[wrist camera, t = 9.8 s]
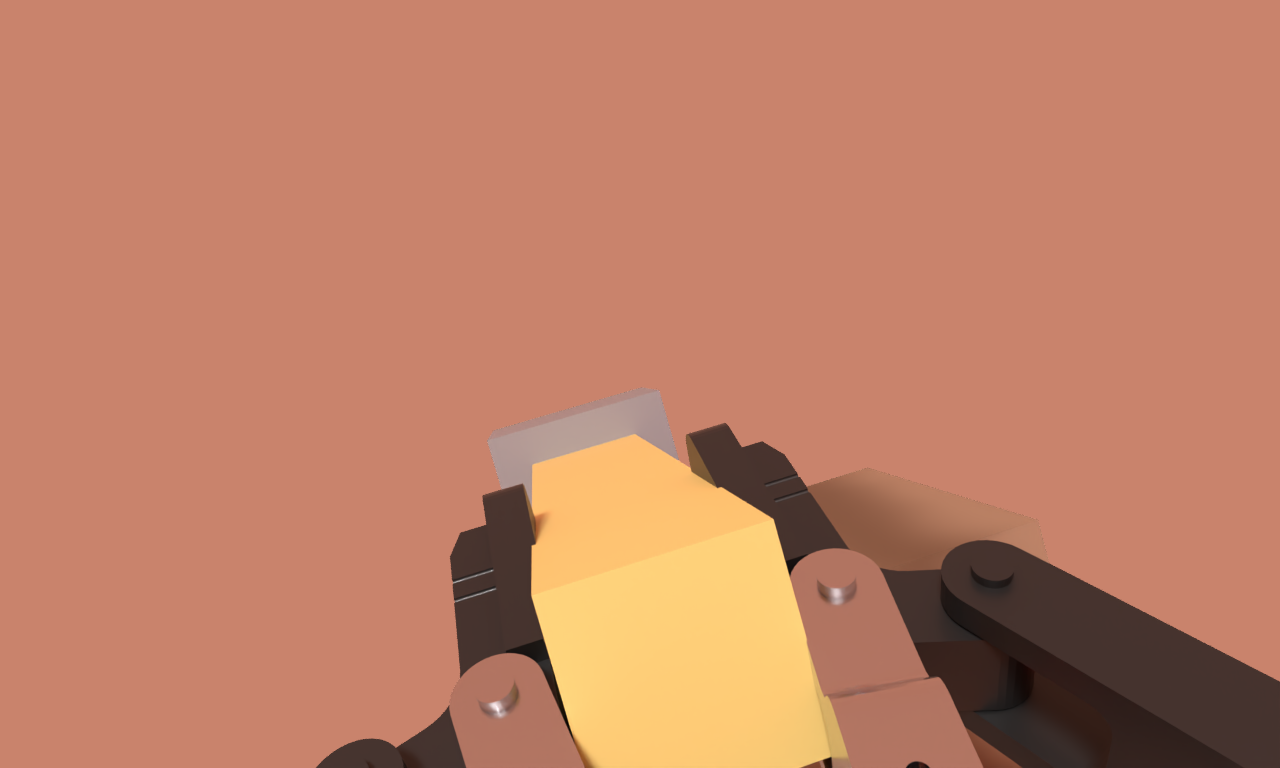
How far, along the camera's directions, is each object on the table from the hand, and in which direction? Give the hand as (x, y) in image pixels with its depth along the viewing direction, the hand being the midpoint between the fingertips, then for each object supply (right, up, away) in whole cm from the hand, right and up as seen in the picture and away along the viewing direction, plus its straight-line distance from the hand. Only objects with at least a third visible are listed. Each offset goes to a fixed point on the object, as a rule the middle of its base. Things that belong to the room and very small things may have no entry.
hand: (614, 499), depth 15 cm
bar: (0, -3, +4) cm, 5 cm away
